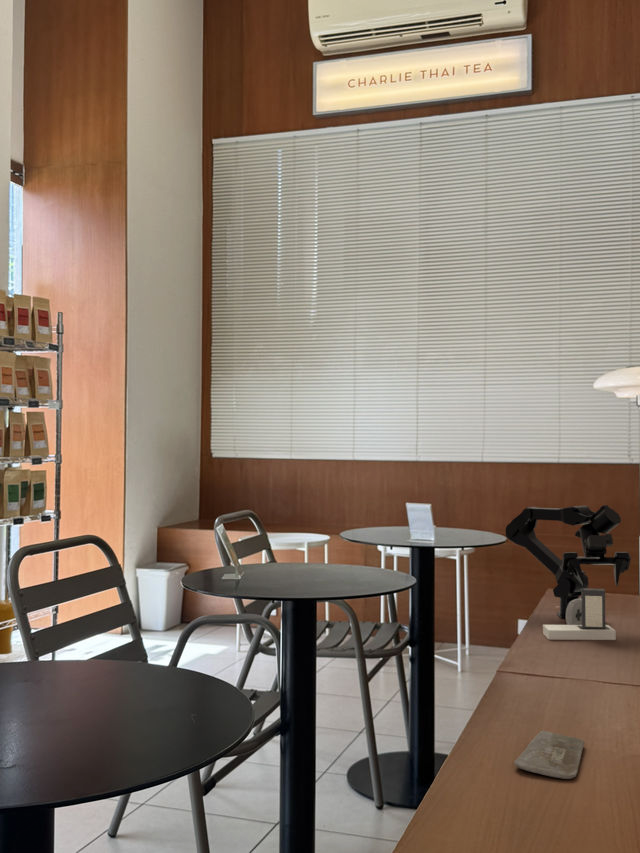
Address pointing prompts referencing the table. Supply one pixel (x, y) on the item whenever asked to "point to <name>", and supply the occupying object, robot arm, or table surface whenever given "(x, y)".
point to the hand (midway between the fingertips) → (600, 585)
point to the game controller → (574, 612)
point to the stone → (552, 755)
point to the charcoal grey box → (593, 608)
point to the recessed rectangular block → (577, 633)
